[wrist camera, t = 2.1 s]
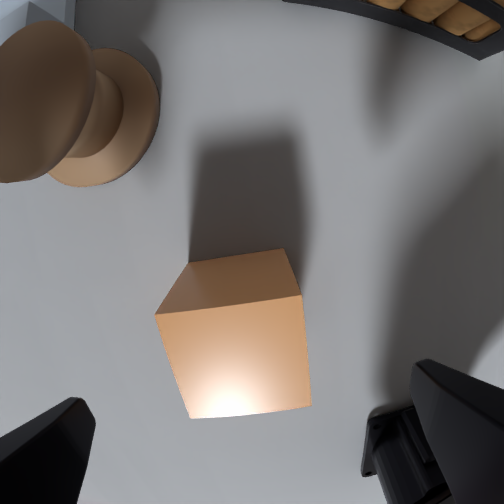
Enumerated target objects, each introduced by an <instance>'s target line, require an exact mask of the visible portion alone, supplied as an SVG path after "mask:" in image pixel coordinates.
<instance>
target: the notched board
mask: <svg viewBox="0 0 504 504" xmlns="http://www.w3.org/2000/svg"><path fill="white" fill-rule="evenodd" d="M75 4H76V0H0V46H1V45H2V44H3V43H4V42H5V41H6V40H7V39H8V38H9V37H10V36H11V35H13V34H14V33H16V32H17V31H18V30H20V29H22V28H23V27H25V26H27V25H30V24H32V23H35V22H39V21H45V20H52V21H57V22H61V23H63V24H64V25H66V26H68V27H69V28H71V29H72V30H74V20H75Z"/></svg>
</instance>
